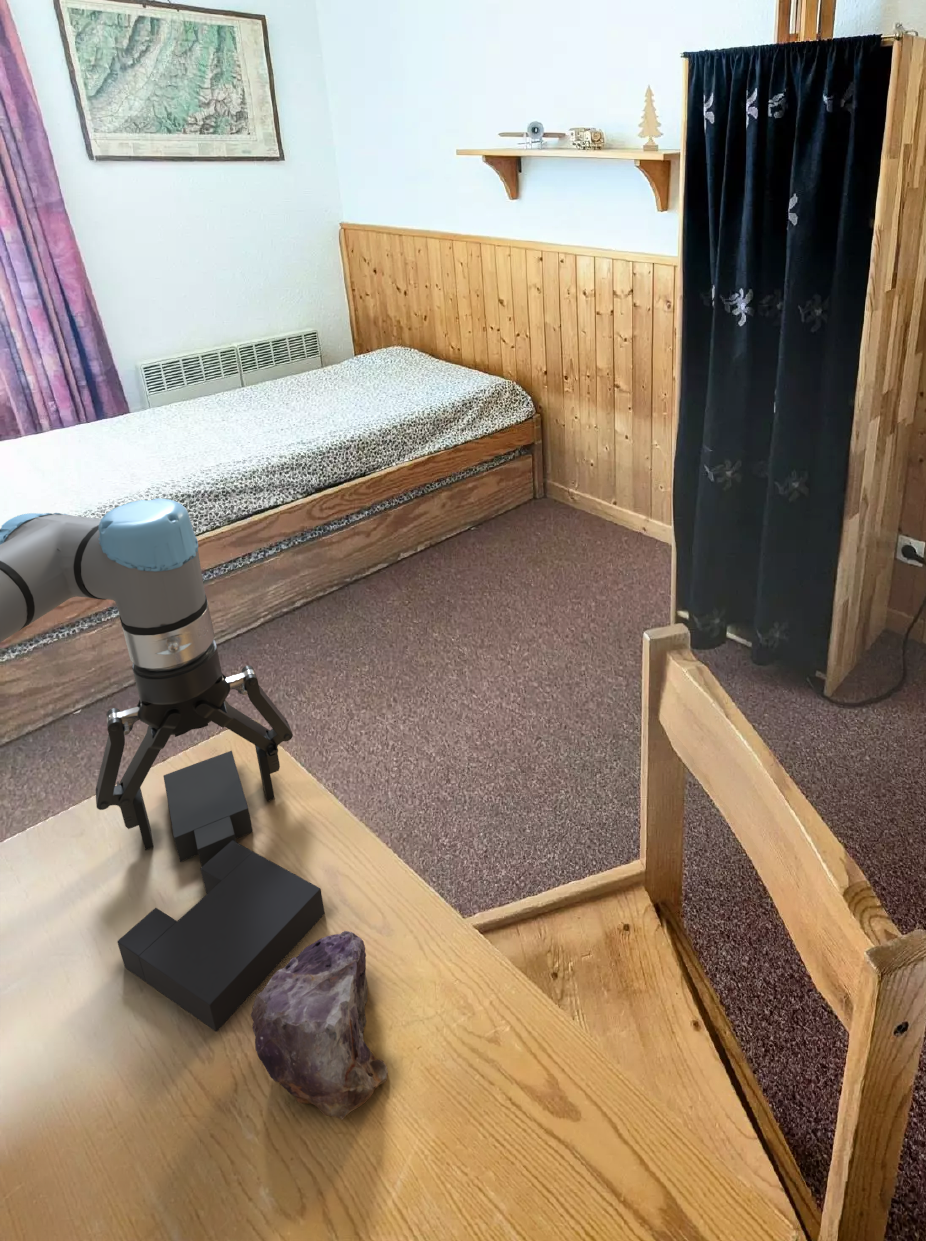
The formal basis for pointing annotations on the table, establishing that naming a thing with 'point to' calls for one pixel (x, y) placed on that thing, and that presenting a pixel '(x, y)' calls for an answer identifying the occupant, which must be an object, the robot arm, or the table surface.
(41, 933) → the table surface
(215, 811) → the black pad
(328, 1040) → the rock
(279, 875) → the dock pad
